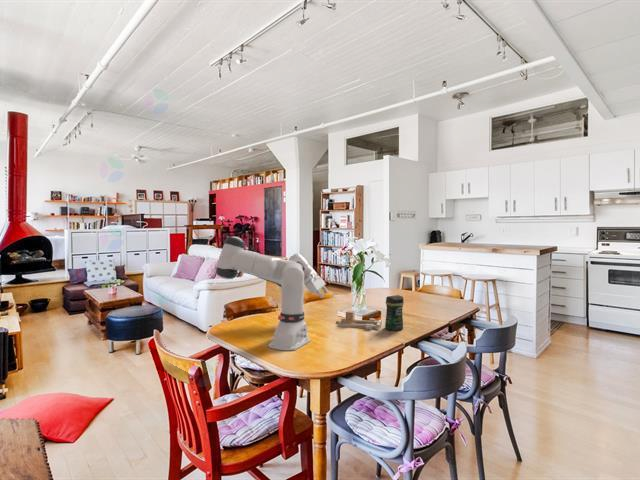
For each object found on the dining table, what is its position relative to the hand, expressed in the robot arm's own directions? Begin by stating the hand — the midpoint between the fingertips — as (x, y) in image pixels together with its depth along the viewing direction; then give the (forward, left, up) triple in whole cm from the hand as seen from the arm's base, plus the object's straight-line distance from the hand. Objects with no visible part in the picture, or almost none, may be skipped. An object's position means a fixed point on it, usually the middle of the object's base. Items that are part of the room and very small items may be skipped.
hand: (324, 295), depth 211 cm
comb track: (-1, -21, -16) cm, 26 cm away
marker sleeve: (-1, -15, -16) cm, 22 cm away
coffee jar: (-1, -41, -16) cm, 44 cm away
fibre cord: (-1, -19, -16) cm, 25 cm away
